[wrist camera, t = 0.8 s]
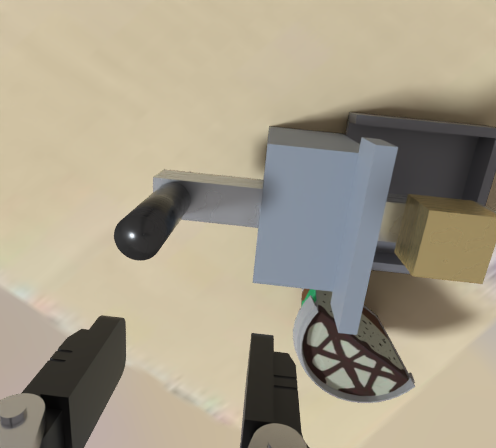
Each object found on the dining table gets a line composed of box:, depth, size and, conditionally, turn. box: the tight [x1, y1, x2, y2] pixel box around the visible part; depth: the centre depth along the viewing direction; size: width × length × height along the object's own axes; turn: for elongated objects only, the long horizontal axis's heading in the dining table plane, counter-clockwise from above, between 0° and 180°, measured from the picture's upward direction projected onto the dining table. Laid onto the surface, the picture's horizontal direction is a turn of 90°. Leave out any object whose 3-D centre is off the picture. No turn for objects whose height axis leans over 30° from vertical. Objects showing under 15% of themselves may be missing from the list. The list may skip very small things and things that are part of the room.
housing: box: [253, 126, 398, 335], centre depth 31 cm, size 12×7×16 cm, turn 175°
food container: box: [293, 288, 415, 403], centre depth 38 cm, size 12×6×10 cm, turn 51°
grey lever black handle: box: [114, 169, 496, 260], centre depth 26 cm, size 3×25×11 cm, turn 85°
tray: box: [345, 112, 496, 274], centre depth 36 cm, size 14×13×4 cm
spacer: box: [394, 194, 496, 284], centre depth 26 cm, size 4×4×4 cm
